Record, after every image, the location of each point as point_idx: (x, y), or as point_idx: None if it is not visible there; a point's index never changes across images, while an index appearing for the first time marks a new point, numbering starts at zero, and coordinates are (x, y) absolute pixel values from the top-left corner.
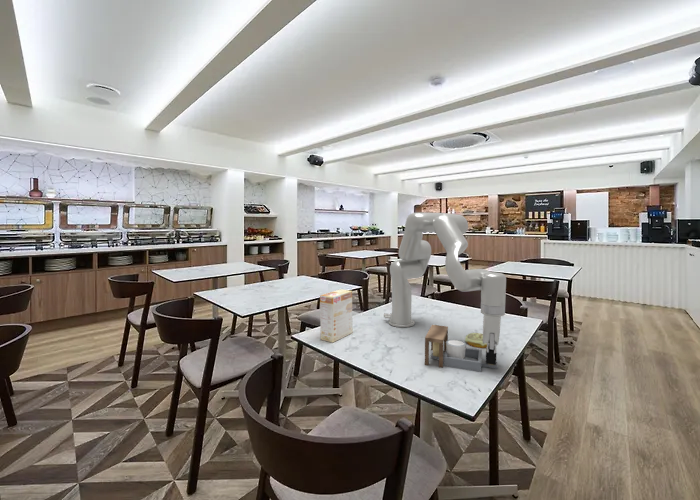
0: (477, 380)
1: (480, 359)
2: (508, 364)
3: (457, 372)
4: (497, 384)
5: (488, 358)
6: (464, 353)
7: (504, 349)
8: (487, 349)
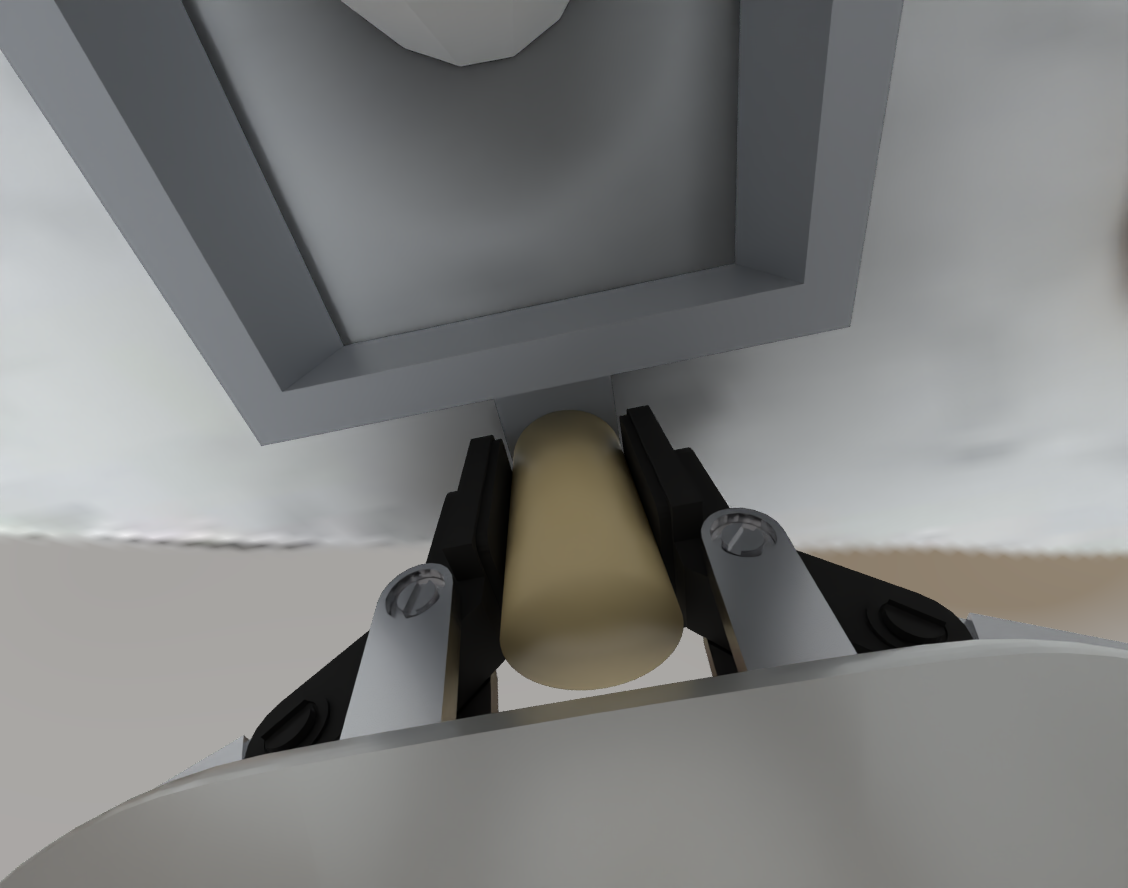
0: (121, 391)
1: (388, 407)
2: None
3: None
4: (231, 545)
5: (440, 517)
6: (395, 9)
7: (1117, 451)
8: (368, 644)
